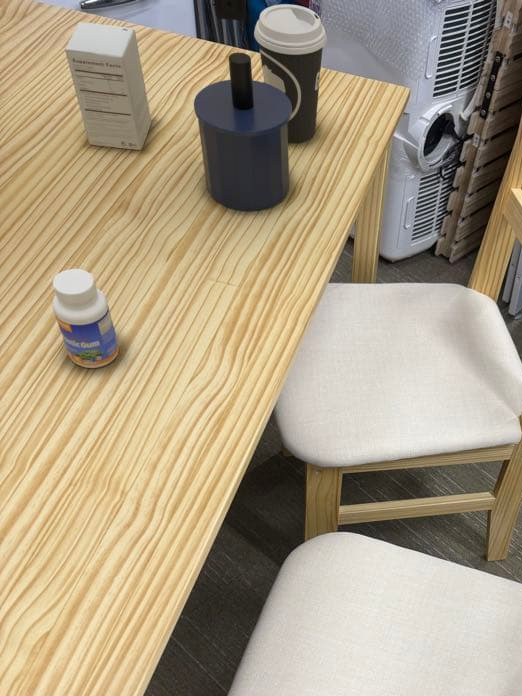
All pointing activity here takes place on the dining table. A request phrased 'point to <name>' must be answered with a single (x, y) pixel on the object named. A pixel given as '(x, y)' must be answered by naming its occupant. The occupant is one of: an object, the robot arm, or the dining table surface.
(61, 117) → the dining table surface
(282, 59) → the coffee cup
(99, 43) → the white packaging box
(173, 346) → the dining table surface
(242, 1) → the robot arm
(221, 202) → the tin
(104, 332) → the pill bottle
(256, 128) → the lid
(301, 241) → the dining table surface
